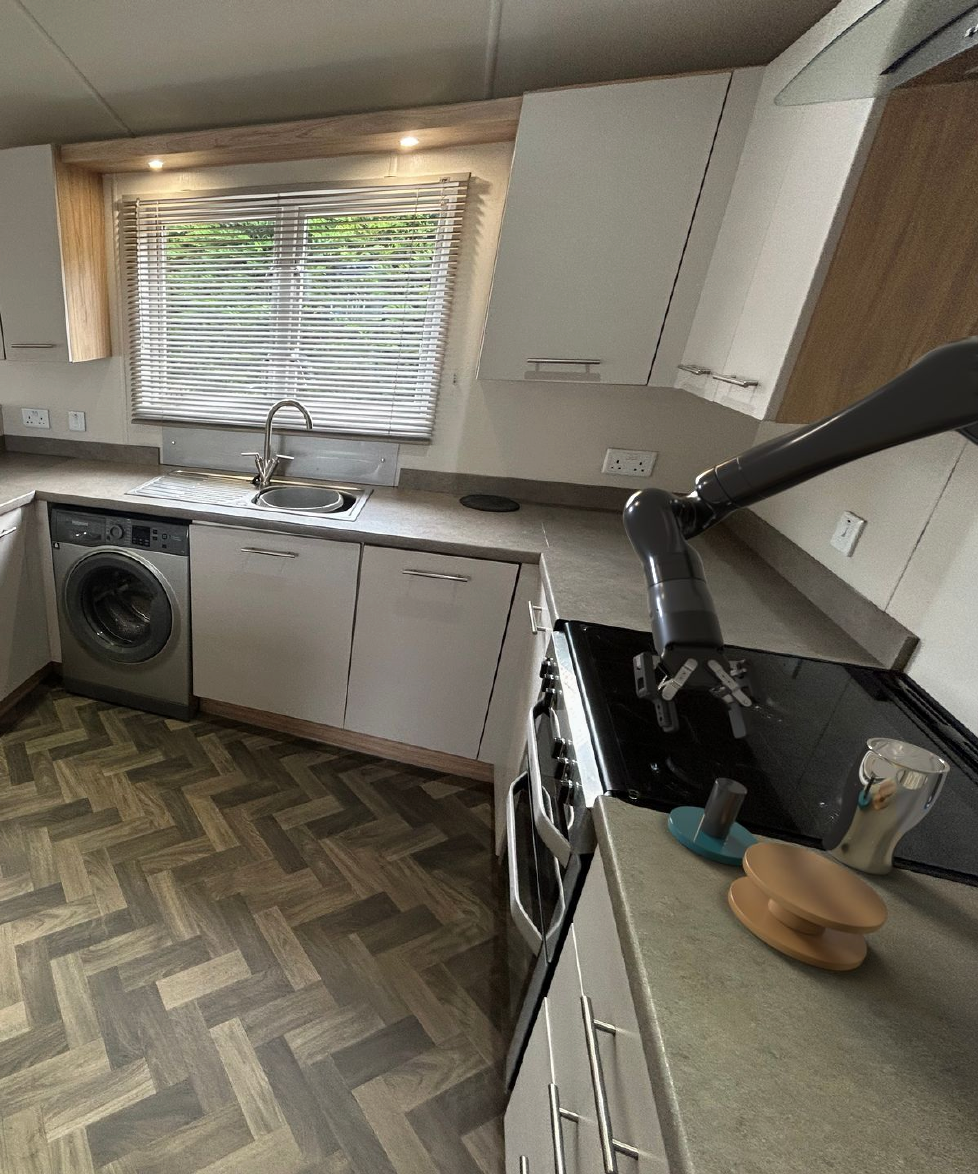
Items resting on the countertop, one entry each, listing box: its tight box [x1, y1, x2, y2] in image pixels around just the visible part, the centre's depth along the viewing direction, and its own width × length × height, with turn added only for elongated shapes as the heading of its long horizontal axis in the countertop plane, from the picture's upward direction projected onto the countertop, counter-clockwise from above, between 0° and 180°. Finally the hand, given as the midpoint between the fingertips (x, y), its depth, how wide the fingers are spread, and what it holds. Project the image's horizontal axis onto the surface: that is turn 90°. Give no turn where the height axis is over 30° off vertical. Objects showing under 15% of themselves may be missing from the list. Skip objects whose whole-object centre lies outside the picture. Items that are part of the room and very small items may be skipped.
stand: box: [727, 842, 889, 972], centre depth 67 cm, size 11×11×6 cm
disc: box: [667, 777, 759, 866], centre depth 78 cm, size 9×9×8 cm
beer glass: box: [821, 737, 951, 876], centre depth 74 cm, size 7×7×15 cm
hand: (707, 734), depth 81 cm, fingers open, 8 cm apart
